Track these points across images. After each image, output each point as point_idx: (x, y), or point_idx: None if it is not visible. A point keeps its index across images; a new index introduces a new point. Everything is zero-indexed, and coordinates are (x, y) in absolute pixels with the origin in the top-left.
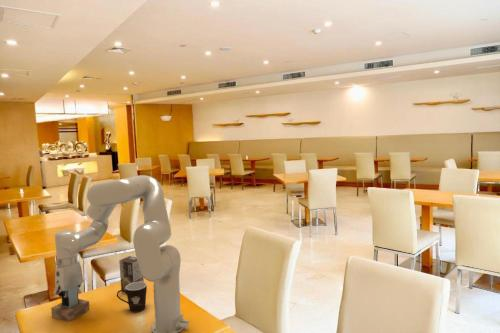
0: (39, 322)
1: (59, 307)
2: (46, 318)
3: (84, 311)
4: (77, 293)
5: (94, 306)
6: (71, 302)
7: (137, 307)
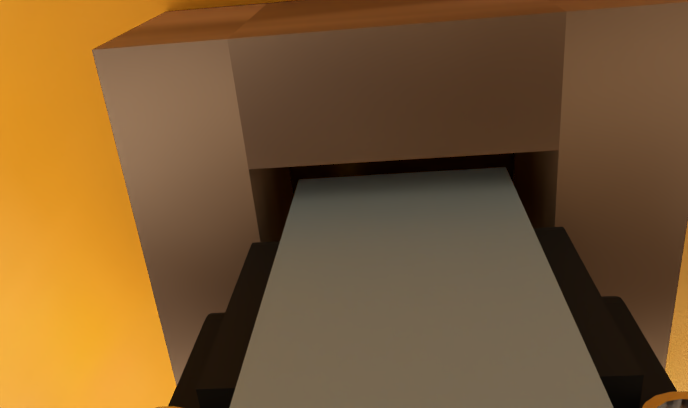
0: None
1: None
2: None
3: (278, 7)
4: (225, 356)
5: (34, 50)
6: (475, 237)
7: None
